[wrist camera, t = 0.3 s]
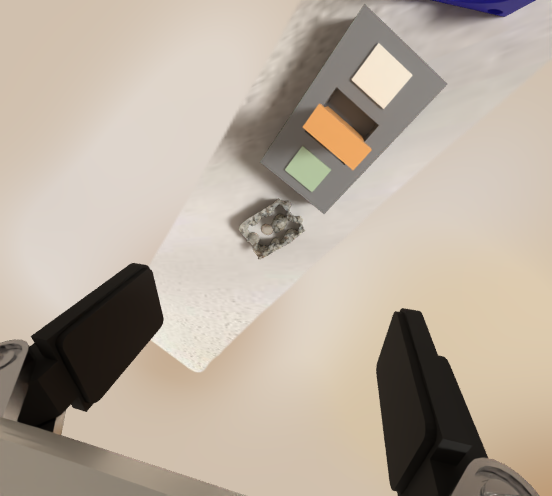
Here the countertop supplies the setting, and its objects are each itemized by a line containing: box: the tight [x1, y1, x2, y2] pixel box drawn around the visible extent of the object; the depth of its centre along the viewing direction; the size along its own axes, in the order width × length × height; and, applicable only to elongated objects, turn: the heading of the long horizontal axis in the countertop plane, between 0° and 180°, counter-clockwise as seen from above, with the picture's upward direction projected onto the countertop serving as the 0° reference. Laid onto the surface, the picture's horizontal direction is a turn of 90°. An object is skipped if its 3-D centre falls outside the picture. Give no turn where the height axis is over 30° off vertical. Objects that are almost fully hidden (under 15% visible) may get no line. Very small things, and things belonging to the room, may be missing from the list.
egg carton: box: [239, 199, 305, 259], centre depth 46 cm, size 11×8×4 cm
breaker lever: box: [303, 104, 372, 170], centre depth 29 cm, size 2×6×12 cm, turn 54°
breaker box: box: [260, 4, 447, 214], centre depth 34 cm, size 20×12×5 cm, turn 144°
